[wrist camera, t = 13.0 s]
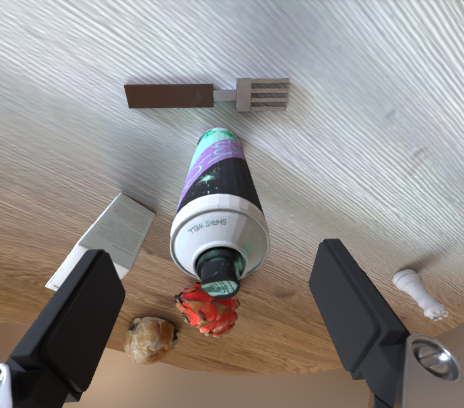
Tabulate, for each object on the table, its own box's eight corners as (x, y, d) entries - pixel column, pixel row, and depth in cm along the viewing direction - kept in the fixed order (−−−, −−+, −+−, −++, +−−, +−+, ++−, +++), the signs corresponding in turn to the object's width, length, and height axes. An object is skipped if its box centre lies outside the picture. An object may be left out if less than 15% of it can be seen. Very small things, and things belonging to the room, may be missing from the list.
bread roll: (158, 296, 45) (131, 324, 38) (191, 331, 45) (171, 367, 38) (134, 317, 49) (105, 347, 41) (165, 351, 48) (141, 387, 41)
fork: (132, 112, 24) (130, 113, 23) (124, 79, 22) (122, 79, 21) (284, 110, 24) (286, 111, 24) (288, 78, 23) (290, 78, 22)
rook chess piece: (385, 281, 41) (419, 322, 34) (401, 265, 39) (440, 306, 32) (403, 285, 42) (439, 326, 35) (420, 270, 40) (462, 310, 33)
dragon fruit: (236, 295, 43) (184, 267, 41) (257, 296, 36) (196, 263, 34) (219, 341, 39) (160, 313, 37) (239, 353, 32) (167, 320, 30)
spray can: (250, 144, 26) (310, 274, 9) (225, 178, 28) (235, 335, 11) (212, 117, 24) (197, 216, 7) (188, 156, 26) (134, 302, 9)
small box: (128, 245, 33) (95, 308, 24) (93, 226, 31) (42, 288, 22) (157, 213, 31) (132, 271, 22) (121, 190, 28) (76, 243, 19)
